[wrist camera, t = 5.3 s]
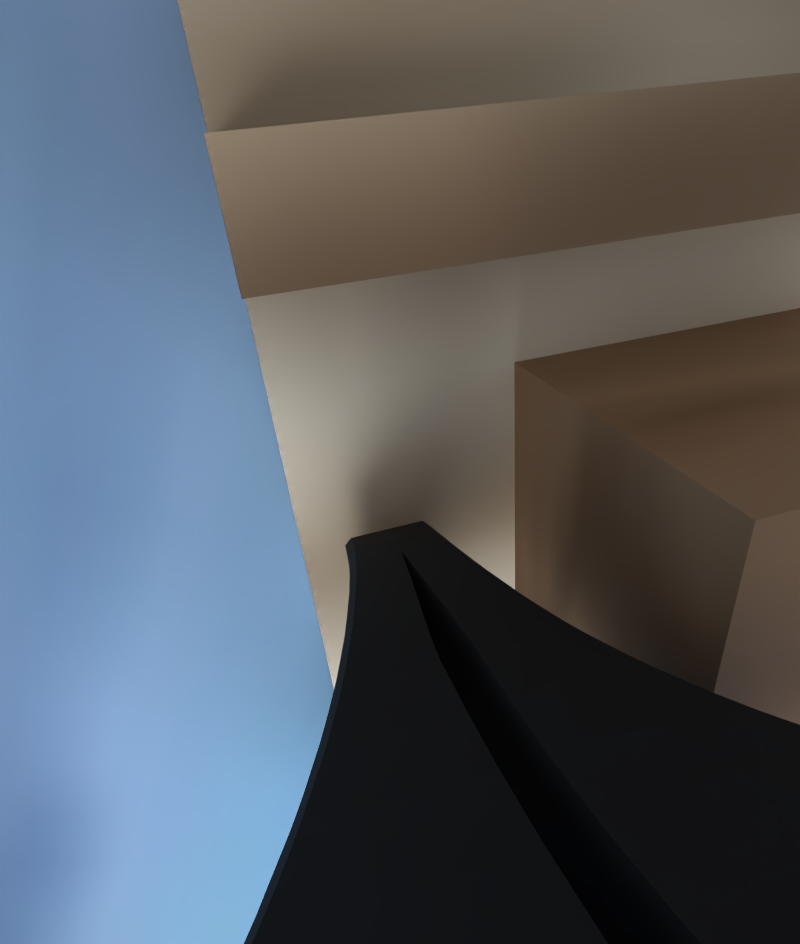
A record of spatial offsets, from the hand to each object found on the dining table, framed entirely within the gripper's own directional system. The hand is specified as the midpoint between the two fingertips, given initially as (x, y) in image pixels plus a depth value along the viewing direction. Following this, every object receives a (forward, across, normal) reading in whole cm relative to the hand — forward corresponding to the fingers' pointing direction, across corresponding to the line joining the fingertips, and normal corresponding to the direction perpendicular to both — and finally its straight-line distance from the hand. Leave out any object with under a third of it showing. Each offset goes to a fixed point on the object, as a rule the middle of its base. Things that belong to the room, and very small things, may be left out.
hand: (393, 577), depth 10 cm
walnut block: (+1, -6, 0) cm, 6 cm away
